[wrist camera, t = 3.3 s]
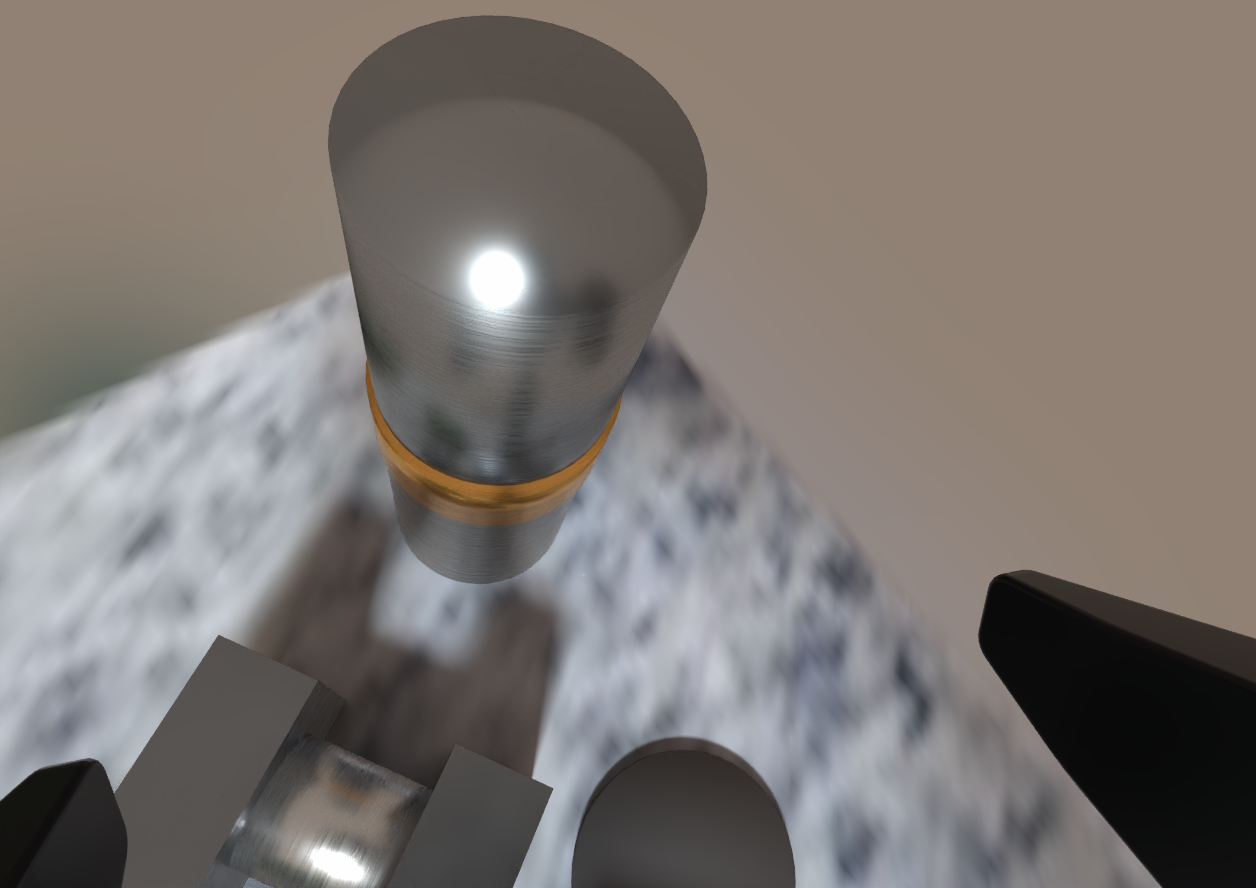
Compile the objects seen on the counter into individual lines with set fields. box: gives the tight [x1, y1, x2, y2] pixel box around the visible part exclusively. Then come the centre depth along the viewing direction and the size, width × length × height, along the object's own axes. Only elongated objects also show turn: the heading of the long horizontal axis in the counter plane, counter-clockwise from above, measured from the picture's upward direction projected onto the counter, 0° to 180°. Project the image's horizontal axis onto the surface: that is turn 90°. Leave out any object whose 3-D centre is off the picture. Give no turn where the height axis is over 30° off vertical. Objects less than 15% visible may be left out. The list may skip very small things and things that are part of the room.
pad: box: [571, 750, 796, 888], centre depth 18 cm, size 5×5×1 cm
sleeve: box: [328, 16, 707, 584], centre depth 15 cm, size 5×5×13 cm
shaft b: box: [114, 635, 553, 888], centre depth 15 cm, size 7×4×4 cm, turn 68°
